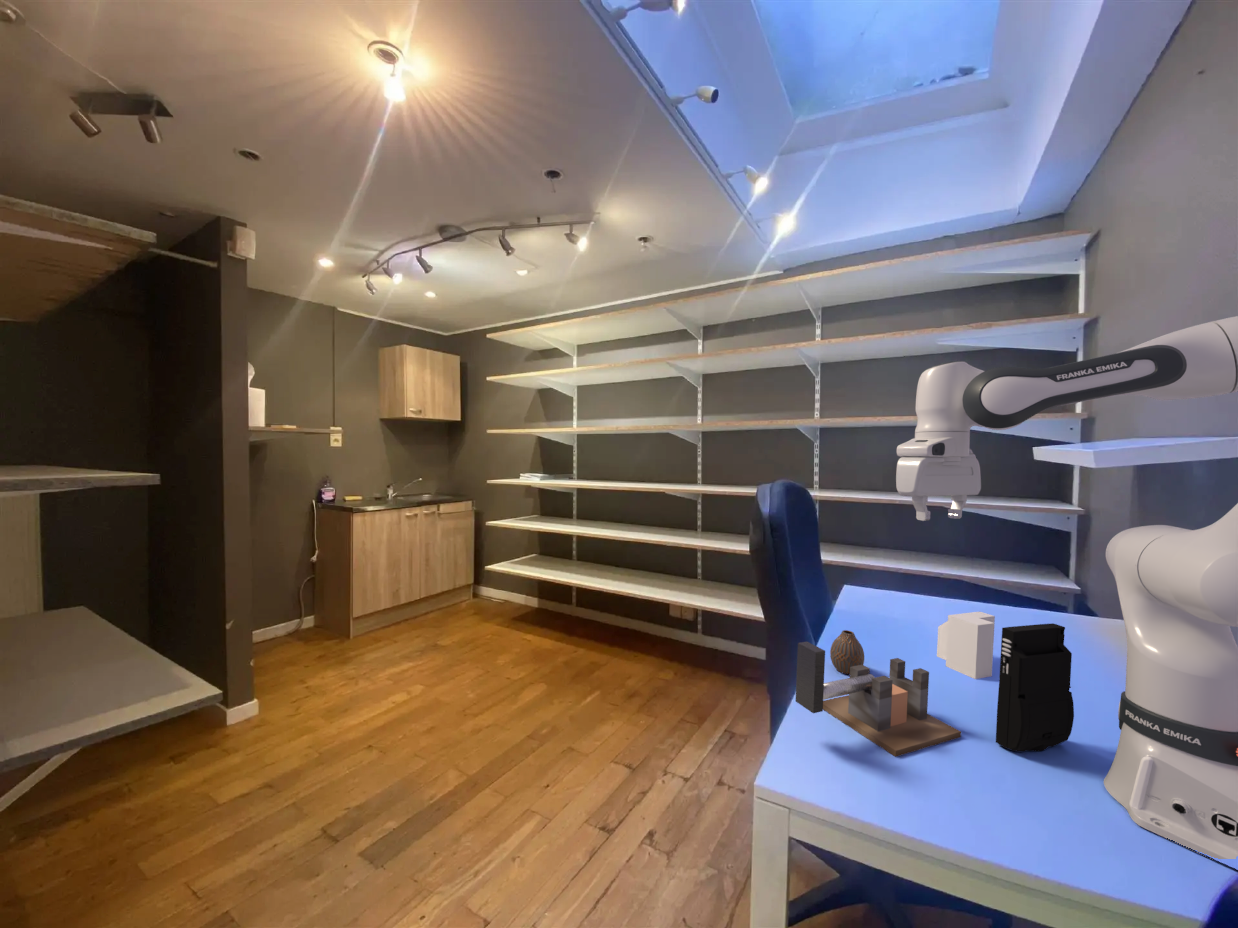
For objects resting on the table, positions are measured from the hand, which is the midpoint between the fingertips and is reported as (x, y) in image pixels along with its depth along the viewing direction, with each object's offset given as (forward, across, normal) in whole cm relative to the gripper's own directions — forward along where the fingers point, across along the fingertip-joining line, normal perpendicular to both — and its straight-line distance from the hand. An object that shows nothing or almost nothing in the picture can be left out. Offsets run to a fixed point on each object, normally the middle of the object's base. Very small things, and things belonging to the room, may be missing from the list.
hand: (939, 519), depth 93 cm
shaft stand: (+36, +14, +1) cm, 39 cm away
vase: (+36, +4, -17) cm, 40 cm away
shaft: (+30, +26, +1) cm, 40 cm away
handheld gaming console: (+37, -2, +15) cm, 40 cm away
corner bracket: (+37, -26, -9) cm, 46 cm away
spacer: (+35, +15, +1) cm, 38 cm away
